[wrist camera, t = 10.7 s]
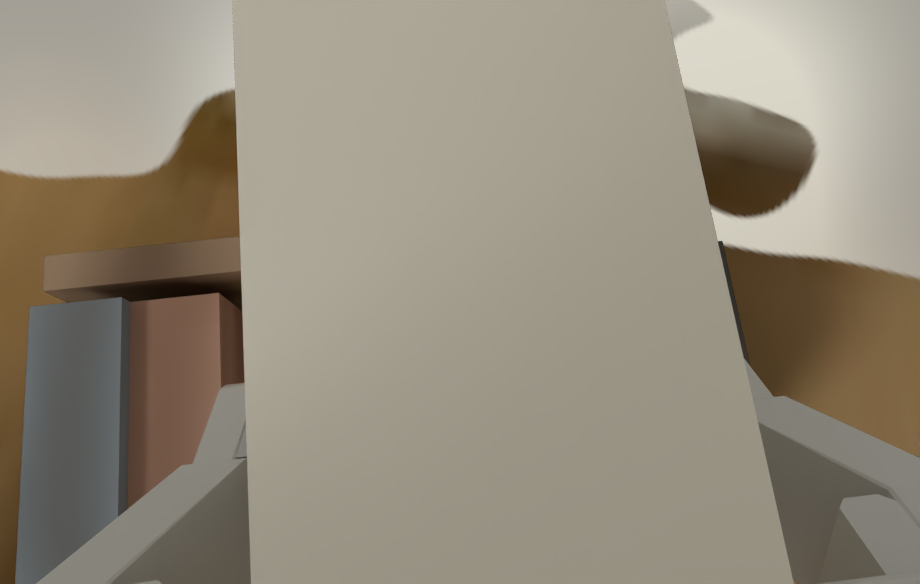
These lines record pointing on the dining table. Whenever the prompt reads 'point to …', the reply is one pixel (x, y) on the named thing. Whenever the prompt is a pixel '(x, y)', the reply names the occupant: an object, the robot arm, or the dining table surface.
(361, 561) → the white rectangular block
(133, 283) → the shelf
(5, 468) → the dining table surface
